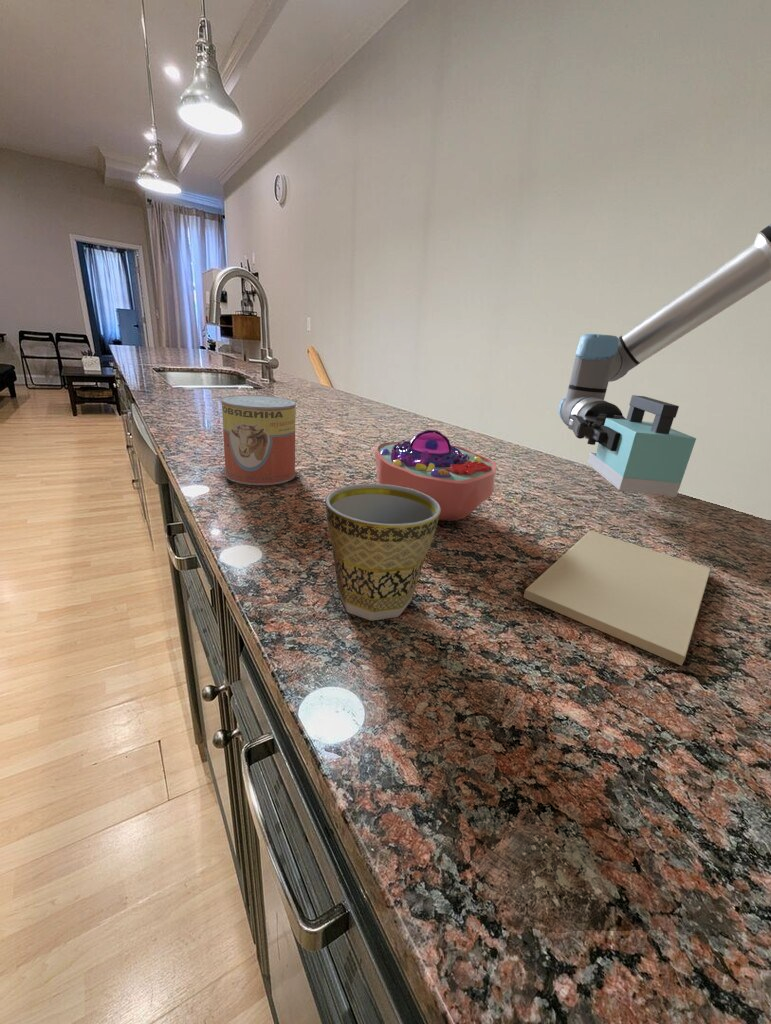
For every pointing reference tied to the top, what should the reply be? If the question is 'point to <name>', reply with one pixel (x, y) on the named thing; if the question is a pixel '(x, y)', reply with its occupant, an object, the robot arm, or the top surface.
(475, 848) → the top surface
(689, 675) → the top surface
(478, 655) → the top surface
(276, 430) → the canned food
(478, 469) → the cell model
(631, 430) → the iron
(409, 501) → the ceramic cup
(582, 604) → the mat
